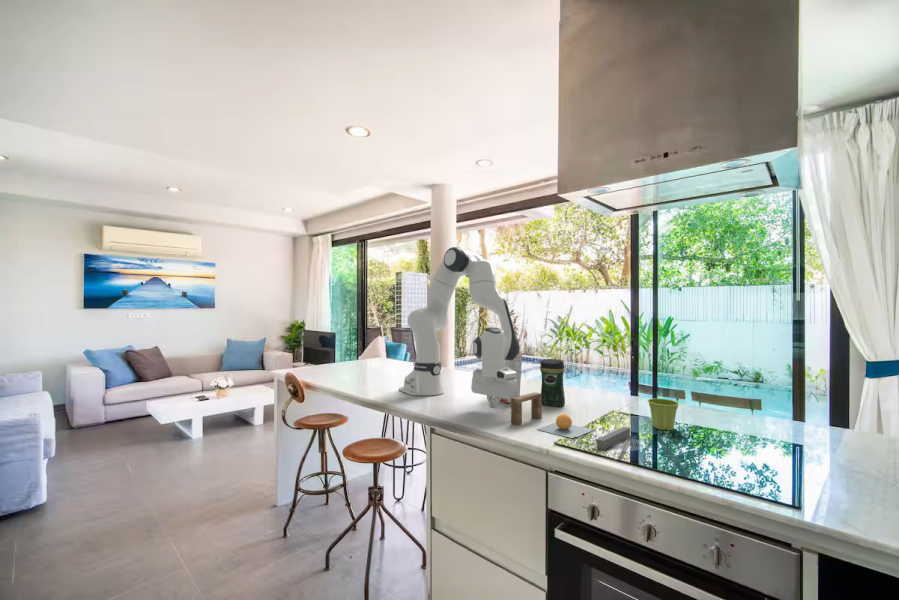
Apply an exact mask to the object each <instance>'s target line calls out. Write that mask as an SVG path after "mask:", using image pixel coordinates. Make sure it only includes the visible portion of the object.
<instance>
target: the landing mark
mask: <svg viewBox="0 0 899 600" xmlns="http://www.w3.org/2000/svg"><path fill="white" fill-rule="evenodd" d="M536 430H537V431H539V432H543V433H548V434H552V435H556V436H559V437H562V438H567V437H569V438H568V439H571V438H574V436H575V437H578V438H579V436H580V437H582V436H584V434H585V435H586V433H587V434H589V433H591V432H594V431H595V429H592V428H589V427H588V428H587V427H583V426H579V425H574V424H572V425H571V427H570V428H569V429H567V430H562V429H560V428H559V427H558V426H557V424H556V422H553V423H551V424H548V425H545V426H542V427H539V428H536ZM581 435H582V436H581Z"/></svg>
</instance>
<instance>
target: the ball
mask: <svg viewBox="0 0 899 600" xmlns="http://www.w3.org/2000/svg"><path fill="white" fill-rule="evenodd" d="M555 423H556V424H557V426H558V427H559V428H560V429H562V430H567V429H569V428H570V427H571V425H573V421H572V418H571V416H570V415H569V414H566V413H561V414H558V415H557V416H556V419H555Z"/></svg>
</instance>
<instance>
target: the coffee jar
mask: <svg viewBox="0 0 899 600" xmlns="http://www.w3.org/2000/svg"><path fill="white" fill-rule="evenodd" d="M539 367H540V368H539V370H540V373H541V387H540V393H541V394H542V406H547V405H548V406H547V407H564V406H565V403H566V398H565V388H564V373H565V371H566V369H565V362H564V360H563V359H559V358H557V359H556V358H544V359H541V361H540V366H539Z"/></svg>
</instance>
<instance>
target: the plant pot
mask: <svg viewBox="0 0 899 600" xmlns="http://www.w3.org/2000/svg"><path fill="white" fill-rule="evenodd" d="M647 402H648V406H649V408H650V415H651V423H652V427H654V428H655V429H656V430H661V431H665V430H668V431H672V430H674V428H675V423H676V421H675V420H676V414H677V410H678V407H679V406H680V402H678V401H676V400H673V399H665V398H649V399H647Z"/></svg>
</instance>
